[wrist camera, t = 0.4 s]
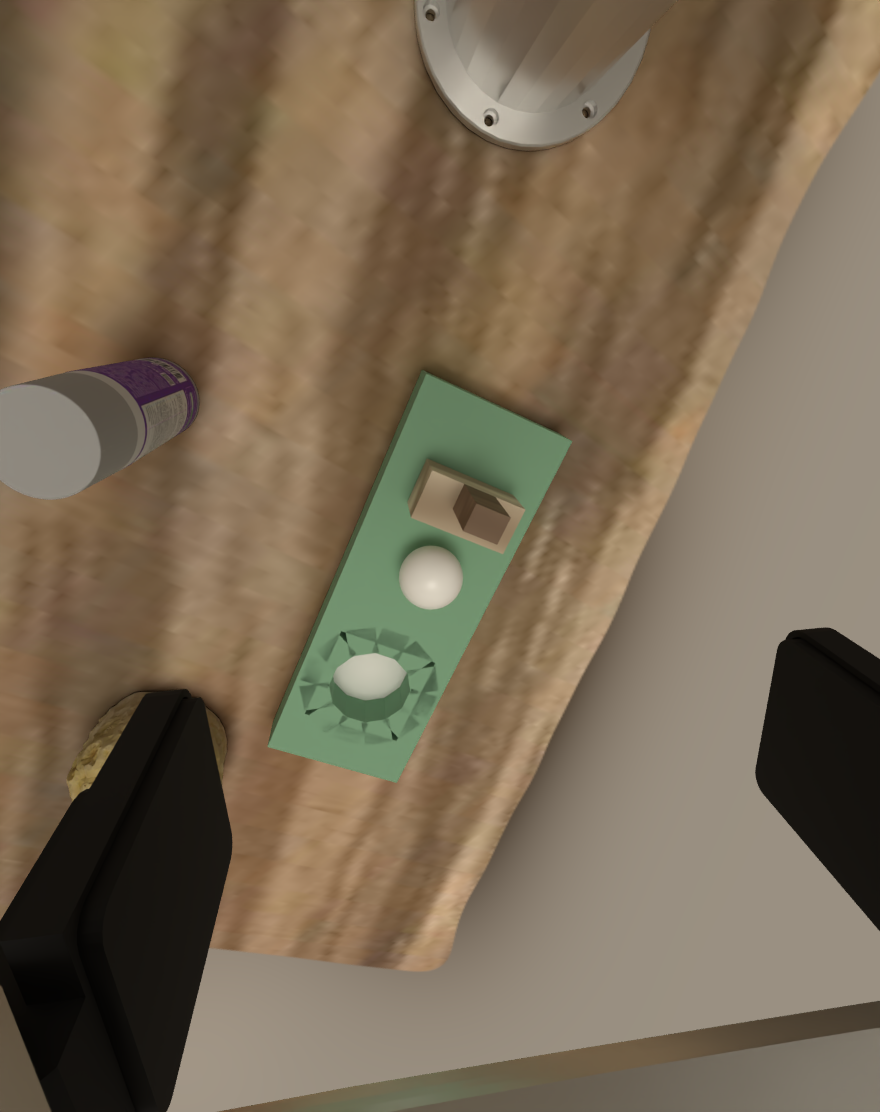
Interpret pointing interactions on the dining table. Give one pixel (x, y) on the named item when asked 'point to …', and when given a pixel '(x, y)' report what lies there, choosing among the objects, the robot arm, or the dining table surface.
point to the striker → (464, 506)
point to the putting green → (377, 599)
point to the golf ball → (430, 577)
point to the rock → (109, 734)
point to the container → (90, 423)
